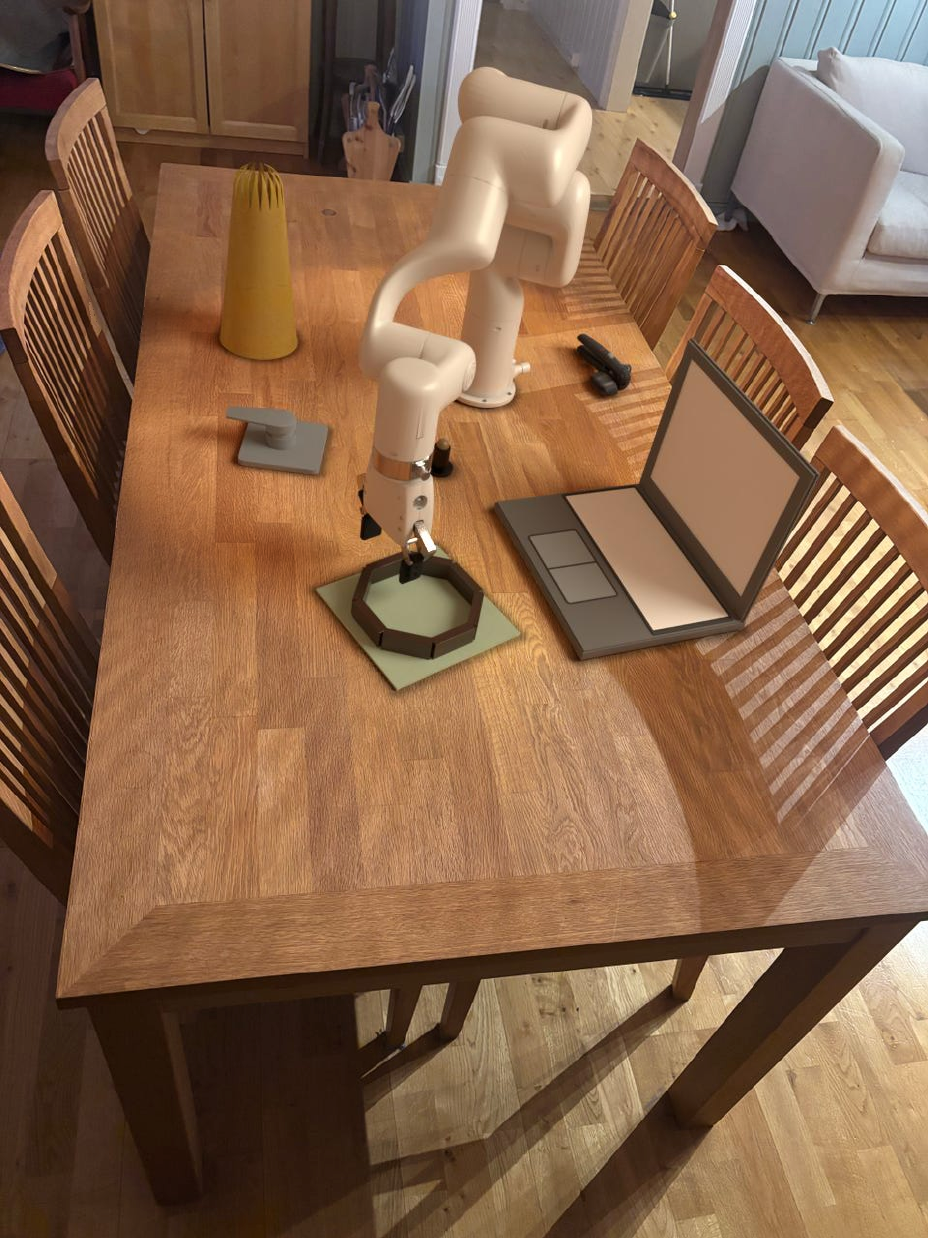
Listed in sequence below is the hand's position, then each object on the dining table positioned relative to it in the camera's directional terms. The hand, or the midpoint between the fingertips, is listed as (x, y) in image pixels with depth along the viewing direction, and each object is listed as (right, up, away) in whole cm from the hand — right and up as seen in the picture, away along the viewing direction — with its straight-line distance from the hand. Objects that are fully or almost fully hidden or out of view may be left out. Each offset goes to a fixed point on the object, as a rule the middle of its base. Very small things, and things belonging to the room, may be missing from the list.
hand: (389, 557), depth 132 cm
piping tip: (-26, +41, +41) cm, 64 cm away
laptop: (+32, -1, +11) cm, 34 cm away
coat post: (+6, +15, +22) cm, 27 cm away
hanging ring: (+4, -7, -1) cm, 8 cm away
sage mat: (+4, -8, -1) cm, 9 cm away
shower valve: (-19, +19, +20) cm, 34 cm away
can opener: (+35, +37, +49) cm, 71 cm away
